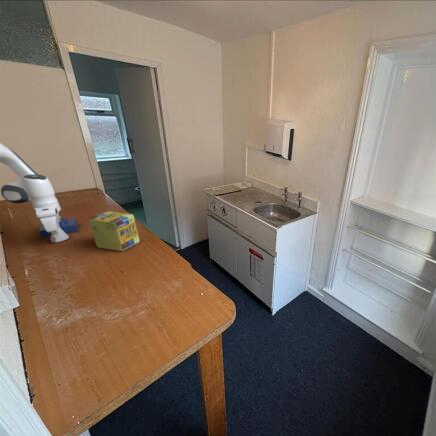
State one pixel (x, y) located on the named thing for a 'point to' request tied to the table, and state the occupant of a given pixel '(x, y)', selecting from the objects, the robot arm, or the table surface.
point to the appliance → (62, 227)
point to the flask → (61, 237)
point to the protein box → (114, 231)
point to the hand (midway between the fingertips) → (57, 233)
